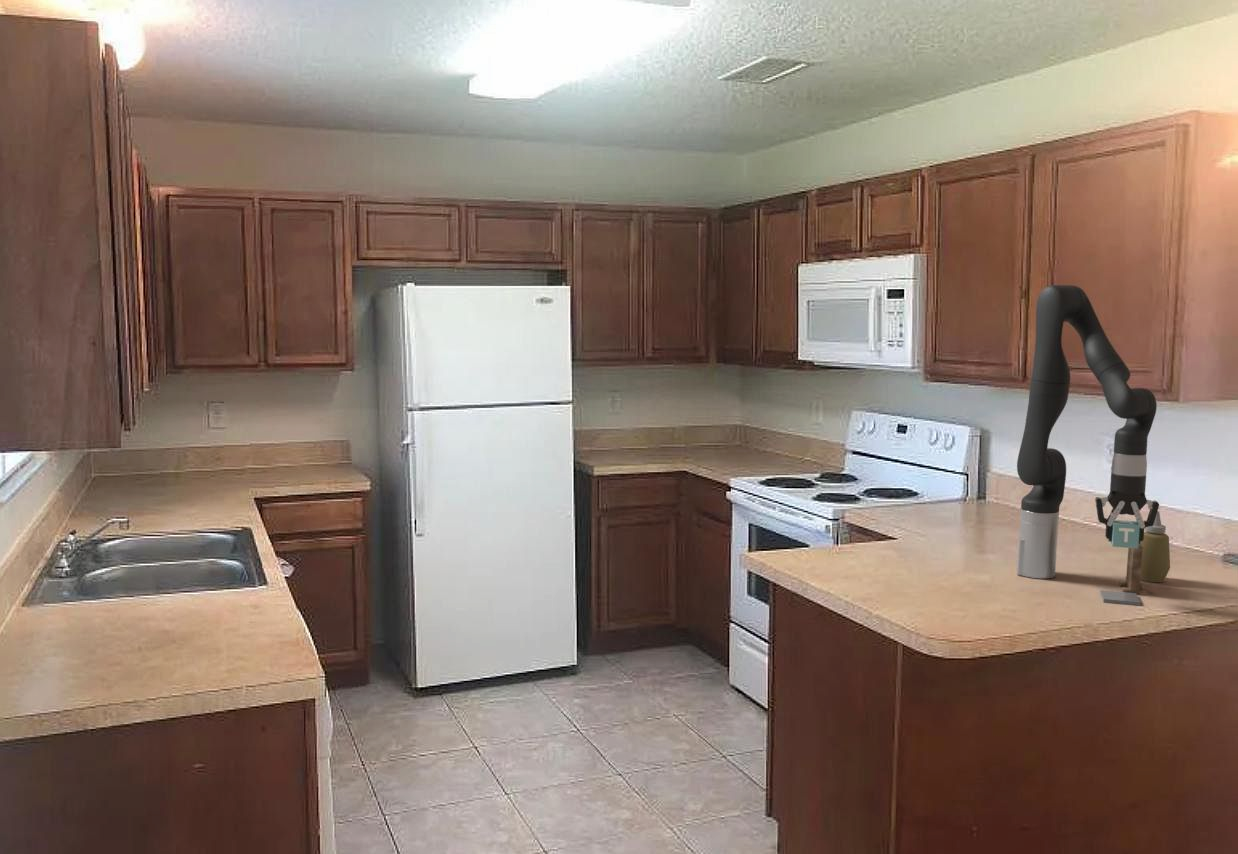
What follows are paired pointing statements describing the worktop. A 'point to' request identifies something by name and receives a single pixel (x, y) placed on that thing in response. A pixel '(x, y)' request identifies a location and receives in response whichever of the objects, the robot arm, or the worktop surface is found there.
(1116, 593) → the coaster
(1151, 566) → the squeeze bottle
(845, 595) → the worktop surface
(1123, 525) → the cube
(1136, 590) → the screen
